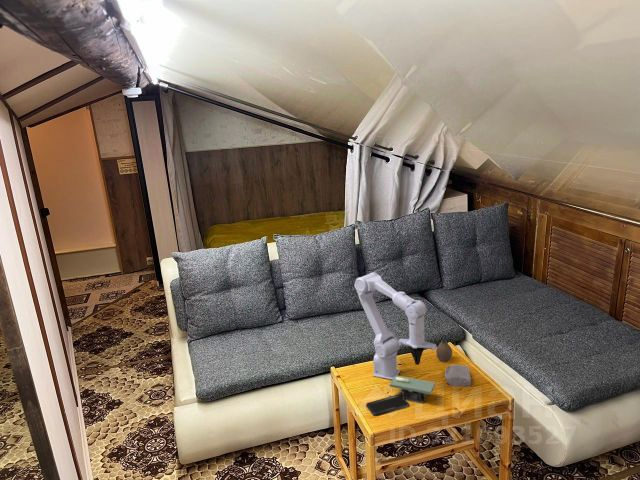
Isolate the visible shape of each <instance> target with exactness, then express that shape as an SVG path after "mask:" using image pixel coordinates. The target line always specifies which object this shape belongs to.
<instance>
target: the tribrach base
mask: <svg viewBox="0 0 640 480" xmlns="http://www.w3.org/2000/svg"><path fill="white" fill-rule="evenodd" d="M397 395H398V396H397V397H400V398H404V399H405V400H406V401H407V402H409V401H410V402H413V403H419V404H424V402H425V400H426V398H427V396H428V394H426V393H421V392H415V391H412V392H409V391H408V390H405V389H401V390H400V391H399V392H398V394H397Z"/></svg>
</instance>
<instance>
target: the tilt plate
mask: <svg viewBox="0 0 640 480" xmlns="http://www.w3.org/2000/svg"><path fill="white" fill-rule="evenodd" d="M435 386H436V382H434V381H429V380H424V379H418V378H412V377H407V376H402V375H395V377H394V378H393V380H391V381H390V383H389V387H391V388H395V389H405V390H408V391H409V392H412V391H415V392H421V393H426V394H427V395H431V394H432V393H433V391H434V388H435Z"/></svg>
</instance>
